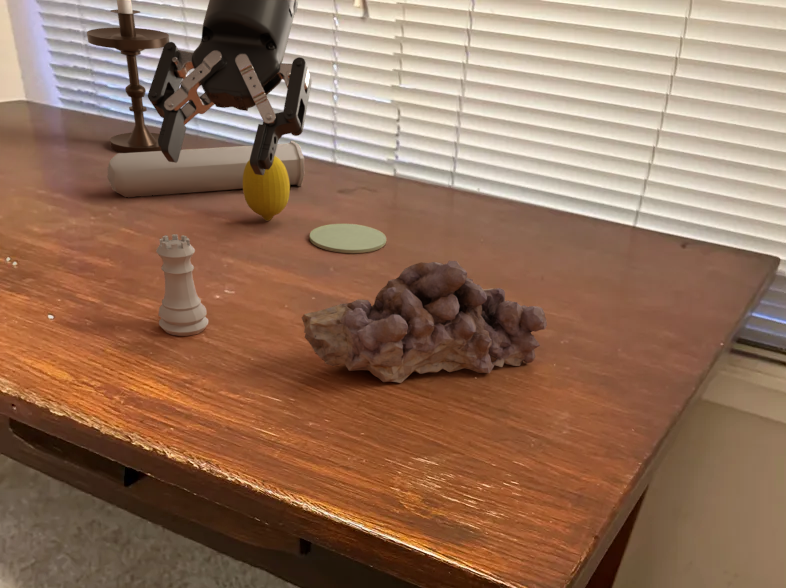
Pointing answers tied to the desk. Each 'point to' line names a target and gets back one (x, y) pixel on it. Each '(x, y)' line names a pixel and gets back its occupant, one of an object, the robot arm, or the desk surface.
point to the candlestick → (131, 73)
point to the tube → (193, 170)
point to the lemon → (267, 189)
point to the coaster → (347, 238)
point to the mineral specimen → (426, 326)
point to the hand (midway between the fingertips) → (212, 163)
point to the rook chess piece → (180, 289)
